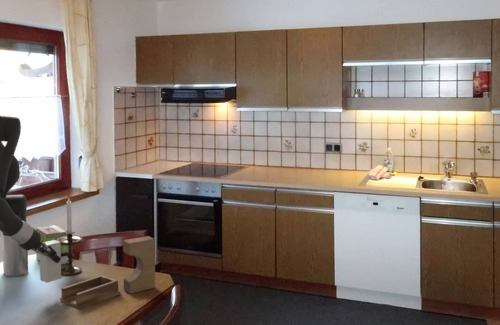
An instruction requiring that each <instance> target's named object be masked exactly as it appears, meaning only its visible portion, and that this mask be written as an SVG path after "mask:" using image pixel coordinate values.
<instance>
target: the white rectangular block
mask: <svg viewBox="0 0 500 325" xmlns="http://www.w3.org/2000/svg"><path fill="white" fill-rule="evenodd" d="M44 243H46V245H47V246H51V247H52V248H53V249H54V250H55V251H56V252H57V254H56V255H57V256H59V257H60V258H61V246H60V242H59V241H56V240H51V241H47V242H44ZM44 253H45V252H44ZM39 269H40V270H39V275H40V276H39V278H40V281H41V282H44V283H50V282H54V281H57V280H59V279H60V280H61V279H62V275H61V269H62V264H61V260H60V261H59V262H58V263H56V262H54V261H53V260H52V259H50V258H49V257H48V256H43V255H42V254H41V253H40V260H39Z"/></svg>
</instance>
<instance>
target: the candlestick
mask: <svg viewBox="0 0 500 325" xmlns="http://www.w3.org/2000/svg"><path fill="white" fill-rule="evenodd" d="M70 197H71V190H70V191H69V193H68V196H67V201H66V228H67V230H66V231H67V232H66V233H65V234H67V236H64V237H60V238H57V239H56V241H59V242H60V245H68V254H67V257H68V260H67V261H68V266H67V267H66V266H65V267H63V268H62V267H61V276H65V277H68V276H69V277H71V276H76V275H80V274H81V273H82V271H83V269H82V267H80V266H73V262H74V259H73V257H74V255H75V254H74V253H73V246H74V245H79V244H82V243H83V242H84V237H83V236H81V235H74V234H75V232H74V231H73V223H72V222H73V221H72V220H73V218H72V212H73V211H72V201H71V198H70Z"/></svg>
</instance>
